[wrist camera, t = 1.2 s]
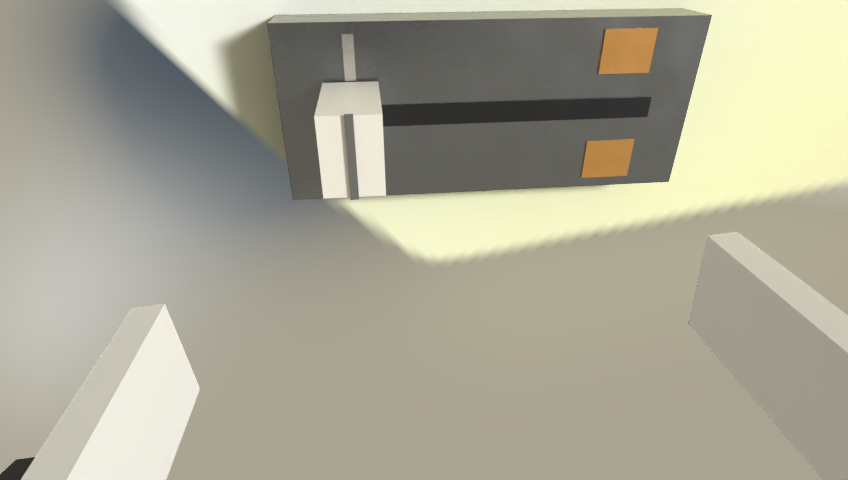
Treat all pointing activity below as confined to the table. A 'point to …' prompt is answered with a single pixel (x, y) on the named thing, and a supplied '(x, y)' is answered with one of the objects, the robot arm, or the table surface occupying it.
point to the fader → (350, 140)
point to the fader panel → (497, 94)
